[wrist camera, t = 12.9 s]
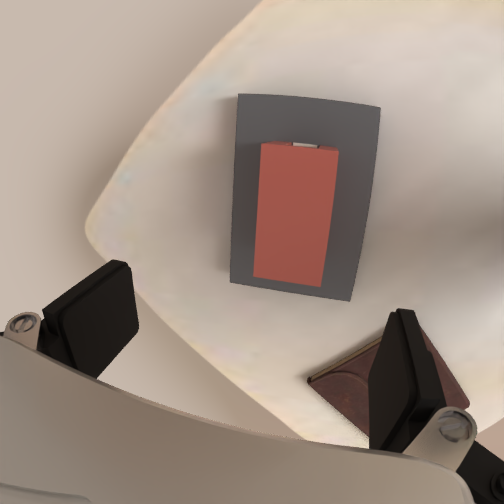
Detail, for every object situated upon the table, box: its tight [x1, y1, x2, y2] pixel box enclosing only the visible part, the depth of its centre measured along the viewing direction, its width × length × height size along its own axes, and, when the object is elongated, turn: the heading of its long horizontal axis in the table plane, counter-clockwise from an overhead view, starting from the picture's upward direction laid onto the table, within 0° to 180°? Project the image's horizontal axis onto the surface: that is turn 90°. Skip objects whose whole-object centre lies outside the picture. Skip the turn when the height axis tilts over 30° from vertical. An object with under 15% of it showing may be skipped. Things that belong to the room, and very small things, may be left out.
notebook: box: [307, 325, 470, 437], centre depth 34 cm, size 15×20×2 cm
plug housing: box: [253, 141, 339, 287], centre depth 24 cm, size 5×10×6 cm, turn 177°
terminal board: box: [230, 94, 381, 302], centre depth 26 cm, size 12×18×6 cm, turn 176°
